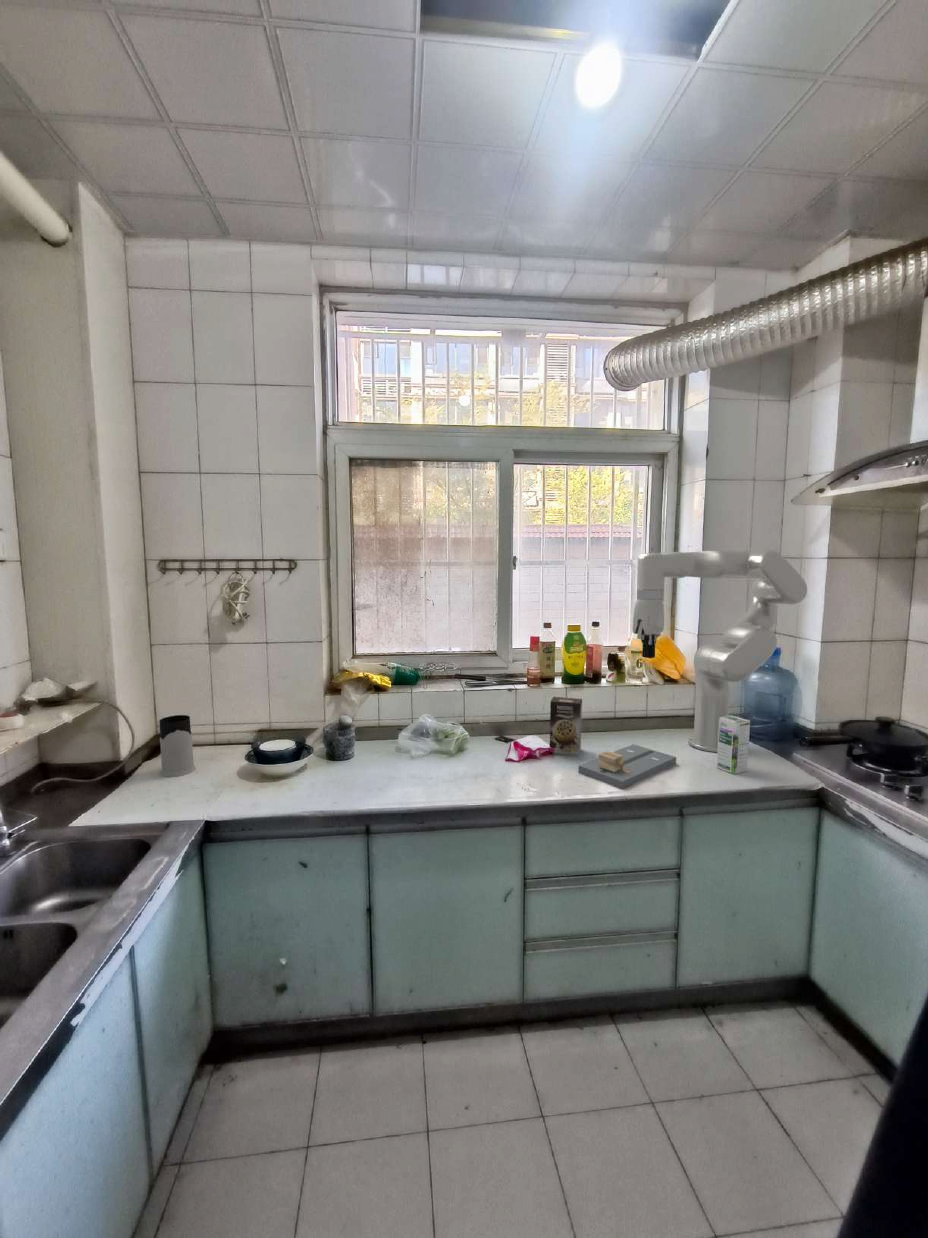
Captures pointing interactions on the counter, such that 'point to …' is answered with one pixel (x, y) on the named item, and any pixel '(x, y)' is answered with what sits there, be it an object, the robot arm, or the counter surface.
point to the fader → (611, 761)
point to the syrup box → (733, 744)
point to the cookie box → (565, 725)
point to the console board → (629, 766)
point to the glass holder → (176, 746)
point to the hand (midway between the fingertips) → (648, 657)
